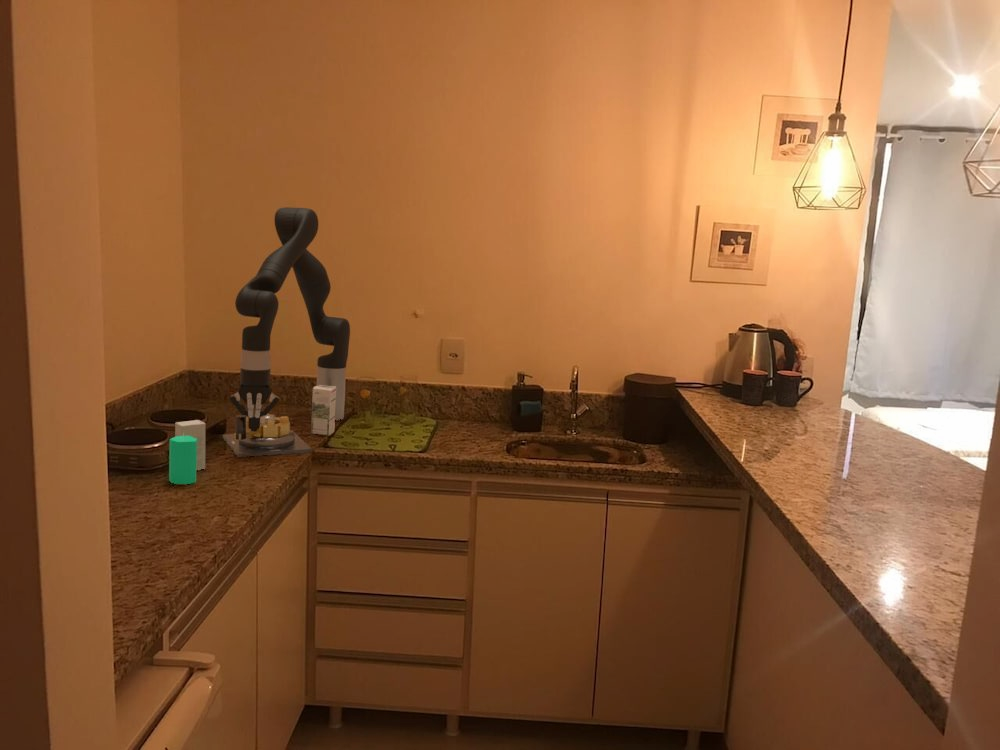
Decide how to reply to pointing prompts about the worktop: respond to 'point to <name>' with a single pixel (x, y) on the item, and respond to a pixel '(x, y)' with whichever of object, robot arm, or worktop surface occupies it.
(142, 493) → the worktop surface
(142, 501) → the worktop surface
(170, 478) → the candle
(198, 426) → the skincare box
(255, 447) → the bearing housing
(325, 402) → the syrup box
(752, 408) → the worktop surface
